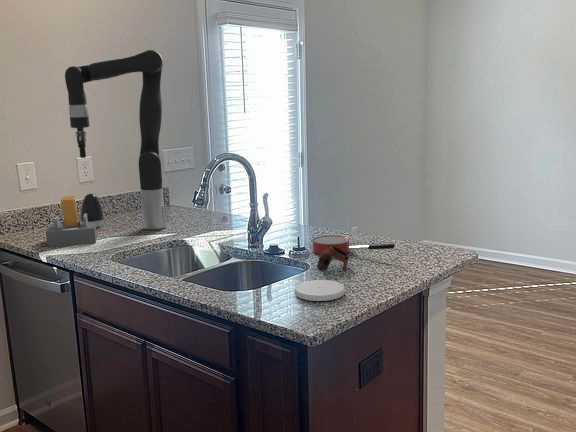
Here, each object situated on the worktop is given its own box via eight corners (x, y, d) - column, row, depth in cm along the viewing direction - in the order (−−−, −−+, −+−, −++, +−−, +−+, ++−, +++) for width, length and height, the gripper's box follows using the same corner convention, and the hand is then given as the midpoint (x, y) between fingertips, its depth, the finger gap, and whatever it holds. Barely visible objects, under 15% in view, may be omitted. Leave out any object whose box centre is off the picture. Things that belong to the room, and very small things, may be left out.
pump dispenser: (109, 224, 275) (106, 191, 272) (99, 229, 265) (96, 195, 262) (87, 224, 276) (84, 191, 273) (77, 229, 266) (74, 195, 263)
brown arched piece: (321, 264, 204) (334, 243, 202) (343, 280, 200) (356, 259, 198) (305, 264, 193) (318, 242, 192) (328, 281, 189) (341, 259, 188)
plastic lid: (300, 306, 164) (300, 297, 163) (290, 290, 177) (290, 282, 177) (350, 301, 166) (350, 293, 166) (336, 286, 180) (336, 278, 179)
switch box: (96, 235, 253) (94, 212, 251) (95, 242, 241) (93, 218, 239) (51, 239, 249) (48, 215, 247) (47, 247, 236) (44, 222, 234)
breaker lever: (80, 223, 247) (76, 196, 240) (79, 226, 245) (76, 199, 238) (63, 224, 245) (59, 197, 238) (63, 227, 243) (59, 200, 236)
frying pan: (404, 256, 209) (404, 238, 208) (388, 265, 199) (388, 246, 198) (324, 245, 227) (324, 228, 226) (306, 253, 217) (305, 236, 215)
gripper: (87, 116, 247) (91, 158, 250) (89, 115, 259) (93, 155, 263) (68, 116, 245) (72, 159, 248) (70, 115, 257) (74, 156, 261)
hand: (83, 157), depth 256 cm, fingers closed
